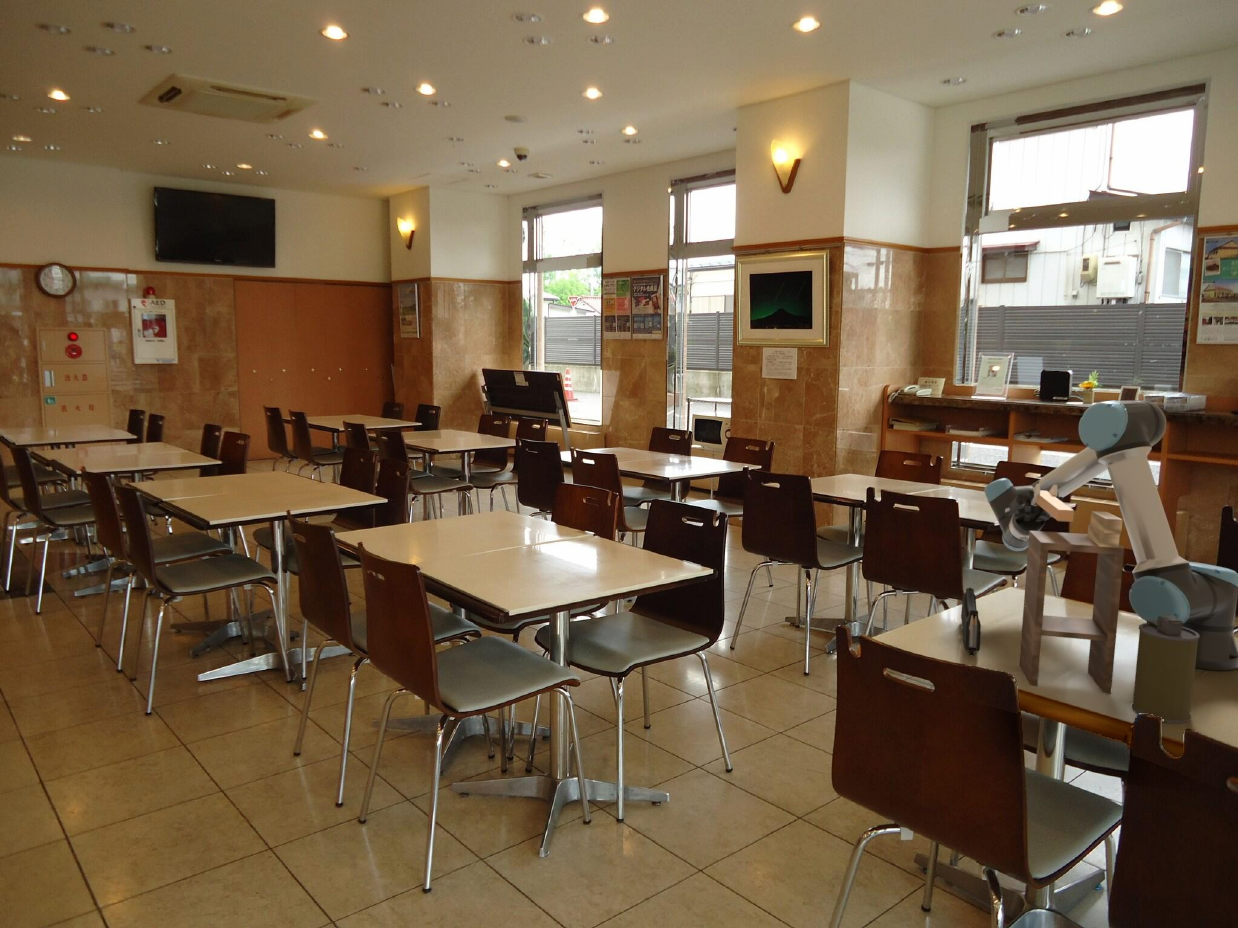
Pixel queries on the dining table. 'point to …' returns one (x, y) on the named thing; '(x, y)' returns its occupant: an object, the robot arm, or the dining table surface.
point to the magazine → (970, 622)
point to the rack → (1106, 598)
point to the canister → (1165, 669)
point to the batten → (1055, 507)
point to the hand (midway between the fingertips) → (1047, 489)
